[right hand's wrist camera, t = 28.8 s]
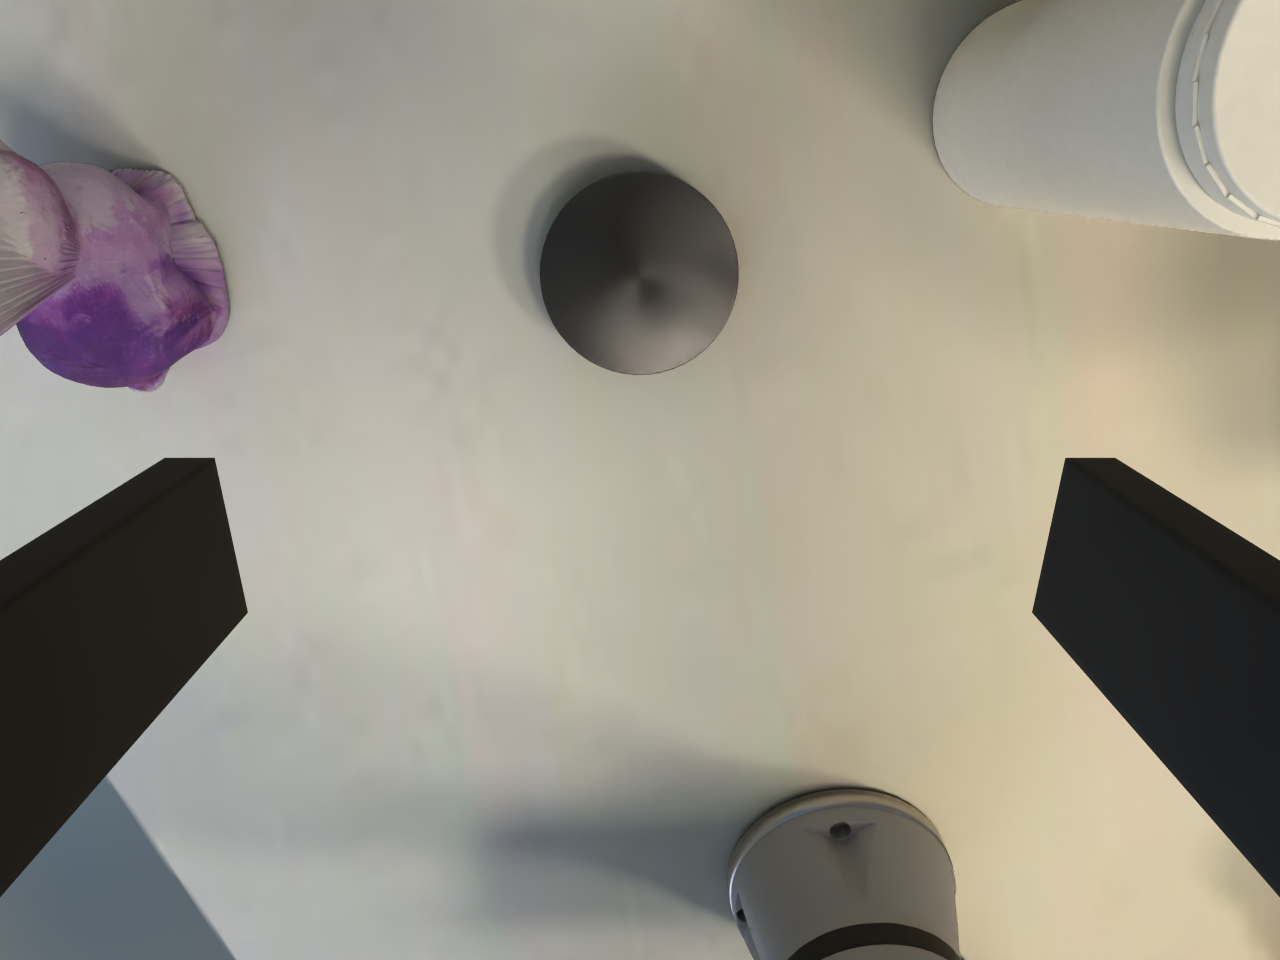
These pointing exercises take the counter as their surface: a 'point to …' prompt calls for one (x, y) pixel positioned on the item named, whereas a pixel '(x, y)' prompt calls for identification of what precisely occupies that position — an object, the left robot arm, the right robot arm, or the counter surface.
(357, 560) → the counter surface
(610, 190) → the lid
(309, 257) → the counter surface
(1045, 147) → the jar
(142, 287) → the figurine
